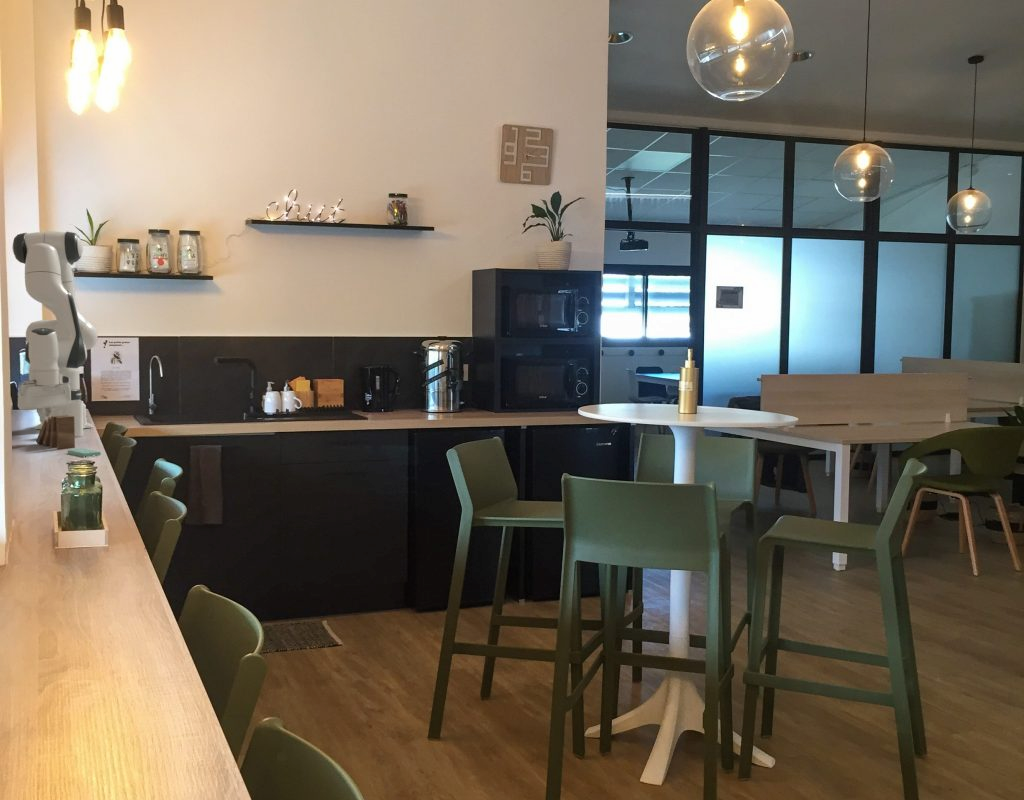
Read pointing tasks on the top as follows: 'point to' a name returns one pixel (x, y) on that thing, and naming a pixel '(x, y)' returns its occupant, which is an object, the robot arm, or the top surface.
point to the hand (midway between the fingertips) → (45, 421)
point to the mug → (73, 410)
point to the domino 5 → (83, 452)
